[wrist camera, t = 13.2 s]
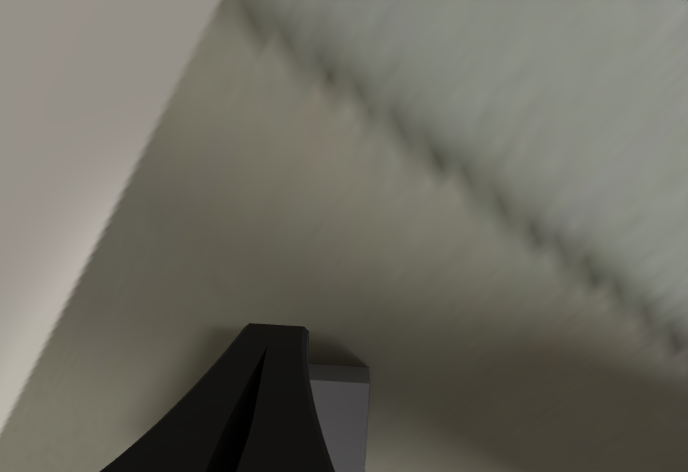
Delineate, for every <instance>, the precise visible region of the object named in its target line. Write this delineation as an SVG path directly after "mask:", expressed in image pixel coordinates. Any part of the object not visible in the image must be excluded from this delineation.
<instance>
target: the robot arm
mask: <svg viewBox="0 0 688 472" xmlns="http://www.w3.org/2000/svg"><path fill="white" fill-rule="evenodd" d="M308 370H309V331H308V330H307V329H306V328H305V327H301V326H285V325H269V324H252V323H249V324H248V325H247V326H246V327H245V328H244V329H243V330H242V331H241V333H240V334H239V335H238V336H237V338H236V339H235V340H234V341H233V343H232V344H231V345H230V346H229V347H228V349H227V350H226V351H225V352H224V353H223V355H222V356H221V357H220V358H219V359H218V360H217V362H216V363H215V364H214V365H213V366H212V367H211V368H210V369H209V370H208V372H207V373H206V374H205V375H204V376H203V377H202V378H201V379H200V380H199V381H198V382H197V384H196V385H195V386H194V387H193V388H192V389H191V390H190V391H189V392H188V393H187V394H186V395H185V396H184V397H183V398H182V399H181V400H180V401H179V402H178V403H177V404H176V405H175V406H174V407H173V408H172V409H171V410H170V411H169V412H168V413H167V414H166V415H165V416H164V417H163V418H162V419H161V420H160V421H159V422H158V423H157V424H155V425H154V426H153V427H152V428H151V429H150V430H149V431H148V432H147V433H146V434H144V435H143V436H142V437H141V438H140V439H139V440H138V441H137V442H135V443H134V444H133V445H132V446H131V447H129V448H128V449H127V450H126V451H125V452H124V453H122V454H121V455H120V456H119V457H118V458H116V459H115V460H114V461H113V462H111V463H110V464H109V465H108V466H106V467H105V468H104V469H102V470H101V471H100V472H335V470H334V467H333V464H332V461H331V459H330V456H329V453H328V450H327V447H326V443H325V440H324V437H323V434H322V430H321V427H320V423H319V419H318V416H317V412H316V408H315V404H314V399H313V394H312V389H311V384H310V378H309V372H308Z"/></svg>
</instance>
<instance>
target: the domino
mask: <svg viewBox="0 0 688 472" xmlns="http://www.w3.org/2000/svg"><path fill="white" fill-rule="evenodd" d="M308 372H309V378H310V384H311V389H312V394H313V399H314V404H315V408H316V412H317V416H318V419H319V423H320V427H321V430H322V434H323V437H324V440H325V443H326V447H327V450H328V453H329V456H330V459H331V461H332V464H333V467H334V470H335V472H365V455H366V439H367V422H368V405H369V389H370V379H369V367H356V366H341V365H325V364H310V363H309V370H308Z"/></svg>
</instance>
